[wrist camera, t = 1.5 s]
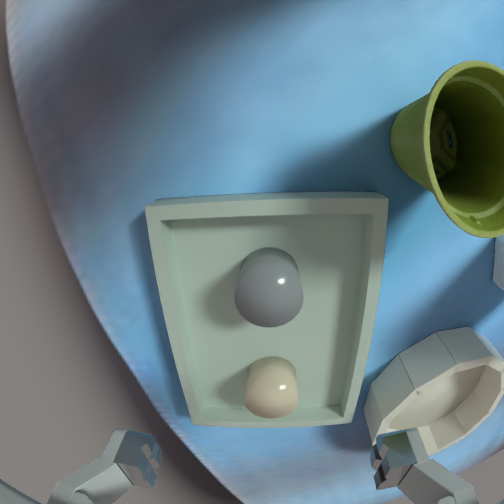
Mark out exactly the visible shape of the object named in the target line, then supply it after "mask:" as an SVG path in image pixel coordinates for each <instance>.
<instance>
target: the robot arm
mask: <svg viewBox="0 0 504 504" xmlns="http://www.w3.org/2000/svg"><path fill="white" fill-rule="evenodd" d="M375 440H376V444H375V445H373V446H372V449H371V454H370V460H371V466H372V468H373V469H375V470H376V471H377V472H376V473H375V475H374V480H375V484H376V489H377V490H380V489H386V488H391V487H396V486H398V488H399V489H400V490H401V491H402V492H403V493H404V494H405V495H406V496H407V497H408V498H409V499H410V500H411V501H412V502H413V503H414V504H479V502H478V499H477V497H476V494H475V491H474V488H473V486H472V485H470V484H469V483H467V482H466V481H464V480H463V479H461V478H460V477H458V476H457V475H455V474H454V473H452V472H451V471H450V470H448V469H447V468H445V467H444V466H442V465H441V464H439V463H438V462H437V461H435V460H434V459H431V460H430V459H429V457H428V454H427V451H426V449H425V446H424V443H423V441H422V438H421V436H420V433H419V431H418V429H417V428H416V427H413V428H409V429H404V430H399V431H394V432H389V433H384V434H379V435H378V436H377V437H376V439H375ZM155 442H156V438H155V437H154V435H151V434H145V433H139V432H134V431H130V430H125V429H120V428H116V429H115V430H114V431H113V434H112V436H111V438H110V440H109V442H108V444H107V446H106V448H105V451H104V453H103V455H102V457H101V458H97V459H95V460H94V461H92V462H90V463H89V464H87V465H85V466H84V467H82V468H81V469H79V470H77V471H76V472H74V473H72V474H71V475H69V476H67V477H66V478H64V479H62V480H60V481H59V482H57V484H56V486H55V488H54V490H53V492H52V494H51V496H50V498H49V500H48V502H47V504H112V503H114V502H115V501H116V500H117V499H118V498H119V497H121V496H122V495H123V494H124V493H125V492H127V491H128V490H129V489H130V488H131V487H132V486H133V485H138V486H143V487H147V488H152V489H153V487H154V484H155V480H156V477H157V475H156V472H155V470H156V469H157V468H159V467H160V464H161V460H162V452H161V448H160V446H159V445H157V444H156V443H155ZM0 504H41V503H40V502H37V501H36V500H34V499H32V498H30V497H29V496H27V495H25V494H23V493H22V492H20V491H18V490H16V489H15V488H13V487H12V486H10V485H8V484H7V483H6V482H4V481H3V480H1V479H0ZM497 504H504V500H502V501H501V502H499V503H497Z"/></svg>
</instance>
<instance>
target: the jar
mask: <svg viewBox="0 0 504 504" xmlns="http://www.w3.org/2000/svg"><path fill="white" fill-rule="evenodd" d="M492 280H493V282H494V283H495V284H496V285H497V286H498V287H500V288H501V289H502V290H503V291H504V234H503V235H501V236H498V237H496V238H495V256H494V269H493V279H492Z"/></svg>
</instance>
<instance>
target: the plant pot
mask: <svg viewBox="0 0 504 504" xmlns="http://www.w3.org/2000/svg"><path fill="white" fill-rule="evenodd" d="M447 131H449V132H450V135H451V139H452V147H451V148H450V147H449V142H448V135H447ZM390 143H391V149H392V153H393V156H394V158H395V160H396V162H397V164H398V166H399V167H400V168H401V169H402V170H403V172H404V173H405V174H407V175H408V176H409V177H410V178H412V179H413V180H414V181H416V182H417V183H419V184H420V185H422V186H423V187H425V188H426V189H428V190H429V191H430V192H432V193H433V194H434V195H435V197H436V199H437V201H438V203H439V205H440V206H441V208H442V209H443V211H444V212H445V214H446V215H447V216H448V217H449V218H450V219H451V220H452V222H453V223H455V224H456V225H457V226H458V227H459V228H461V229H462V230H464V231H465V232H467V233H469V234H471V235H473V236H477V237H481V238H494V237H498V236H501V235H503V234H504V71H503V70H502V69H500V68H499V67H497V66H495V65H493V64H490V63H488V62H484V61H465V62H462V63H459V64H457V65H455V66H453V67H451V68H450V69H448V70H447V71H445V72H444V73H443V74H442V75H441V76H440V77H439V79H438V80H437V81H436V83H435V84H434V86H433V87H432V89H431V91H430V93H429V94H427V95H425V96H423V97H422V98H420V99H418V100H416V101H415V102H413V103H411V104H409V105H408V106H406V107H404V108H403V109H402V110H401V111H400V112H399V114H398V115H397V117H396V119H395V121H394V123H393V125H392V128H391V134H390ZM434 170H435V171H436V170H438V171H437V173H436V174H435V172H434Z"/></svg>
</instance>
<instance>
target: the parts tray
mask: <svg viewBox="0 0 504 504" xmlns="http://www.w3.org/2000/svg"><path fill="white" fill-rule="evenodd" d="M388 201H389V199H388V198H386V197H385V196H383V195H381V194H379V193H377V192H278V193H250V194H228V195H210V196H195V197H180V198H167V199H157V200H155V201H154V202H152V203H150V204H149V205H147V206H145V213H146V220H147V227H148V234H149V240H150V246H151V252H152V258H153V264H154V269H155V275H156V280H157V285H158V290H159V295H160V300H161V305H162V309H163V314H164V318H165V323H166V327H167V331H168V336H169V340H170V344H171V348H172V352H173V356H174V360H175V364H176V368H177V371H178V375H179V379H180V382H181V386H182V389H183V393H184V396H185V400H186V403H187V406H188V410H189V413H190V416H191V419H192V422H193V425H205V426H219V427H243V428H285V427H308V426H323V425H334V424H344V423H351V422H352V419H353V415H354V412H355V408H356V405H357V401H358V397H359V393H360V389H361V385H362V381H363V377H364V373H365V368H366V364H367V359H368V355H369V350H370V345H371V340H372V335H373V329H374V324H375V318H376V312H377V306H378V300H379V293H380V286H381V278H382V270H383V262H384V253H385V243H386V231H387V218H388ZM264 247H274V248H278V249H281V250H284V251H285V252H287V253H288V254H290V255H291V256H292V257H293V259H294V260H295V262H296V263H297V266H298V270H299V274H300V279H301V284H302V289H303V294H304V300H303V305H302V308H301V310H300V312H299V313H298V314H297V316H296V317H295V318H294V319H293V320H291V321H290V322H288V323H286V324H284V325H282V326H278V327H271V328H267V327H260V326H256V325H254V324H252V323H250V322H248V321H247V320H245V319H244V318H243V317H242V316H241V315H240V313H239V312H238V310H237V308H236V305H235V300H234V295H235V290H236V285H237V280H238V276H239V271H240V267H241V265H242V262H243V261H244V259H245V258H246V257H247V256H248V255H249V254H250V253H252V252H253V251H255V250H257V249H260V248H264ZM268 356H276V357H281V358H284V359H286V360H288V361H290V362H291V363H292V364H293V365H294V367H295V369H296V379H297V392H298V405H297V407H296V409H295V410H294V411H293V412H292V413H290V414H288V415H286V416H283V417H280V418H263V417H259V416H256V415H254V414H252V413H251V412H250V411H249V410H248V409H247V408H246V406H245V392H246V382H247V373H248V369H249V367H250V365H251V364H252V363H253V362H254V361H256V360H258V359H260V358H263V357H268Z"/></svg>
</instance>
